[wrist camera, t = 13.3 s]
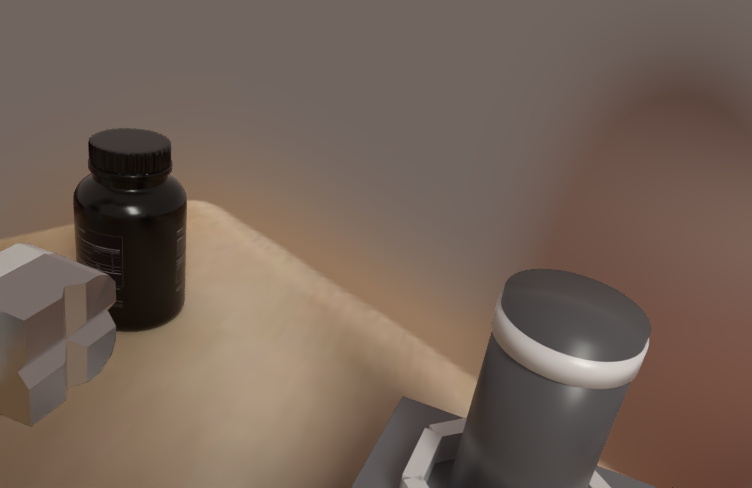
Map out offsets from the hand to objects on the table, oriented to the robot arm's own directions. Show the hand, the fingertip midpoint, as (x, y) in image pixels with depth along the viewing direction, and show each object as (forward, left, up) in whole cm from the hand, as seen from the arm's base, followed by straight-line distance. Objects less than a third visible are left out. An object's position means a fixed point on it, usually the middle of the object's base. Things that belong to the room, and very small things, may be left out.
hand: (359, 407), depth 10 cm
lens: (+3, +15, -15) cm, 21 cm away
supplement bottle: (-24, +27, -21) cm, 42 cm away
